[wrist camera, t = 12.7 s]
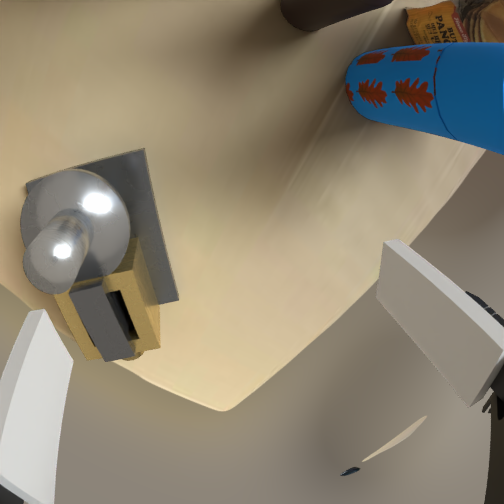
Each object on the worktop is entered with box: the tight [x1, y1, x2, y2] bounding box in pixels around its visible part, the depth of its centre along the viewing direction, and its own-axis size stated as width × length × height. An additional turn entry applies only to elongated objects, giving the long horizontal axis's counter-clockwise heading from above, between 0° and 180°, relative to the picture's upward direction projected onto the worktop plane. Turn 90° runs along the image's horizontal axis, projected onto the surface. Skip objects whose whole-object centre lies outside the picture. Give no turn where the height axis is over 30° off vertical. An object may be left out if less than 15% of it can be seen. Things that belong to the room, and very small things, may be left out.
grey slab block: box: [69, 278, 136, 362], centre depth 35 cm, size 10×4×10 cm, turn 9°
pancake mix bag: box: [405, 0, 504, 45], centre depth 25 cm, size 7×19×28 cm, turn 34°
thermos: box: [345, 42, 504, 155], centre depth 27 cm, size 11×11×25 cm
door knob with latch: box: [20, 148, 179, 361], centre depth 32 cm, size 26×16×18 cm, turn 7°
